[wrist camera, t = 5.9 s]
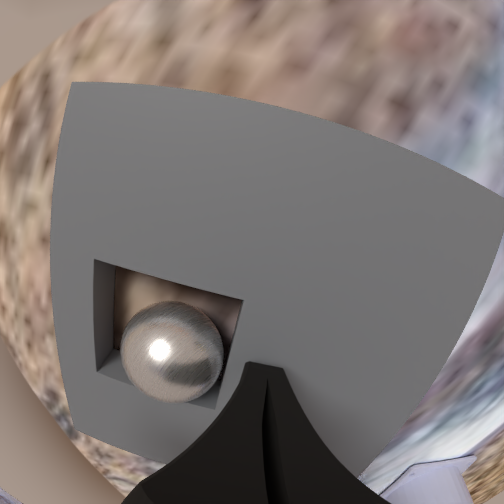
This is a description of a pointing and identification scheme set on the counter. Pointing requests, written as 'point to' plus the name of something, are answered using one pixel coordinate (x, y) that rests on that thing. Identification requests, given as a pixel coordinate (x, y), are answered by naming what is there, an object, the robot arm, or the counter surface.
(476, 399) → the counter surface
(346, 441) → the hole board
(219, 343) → the steel ball
